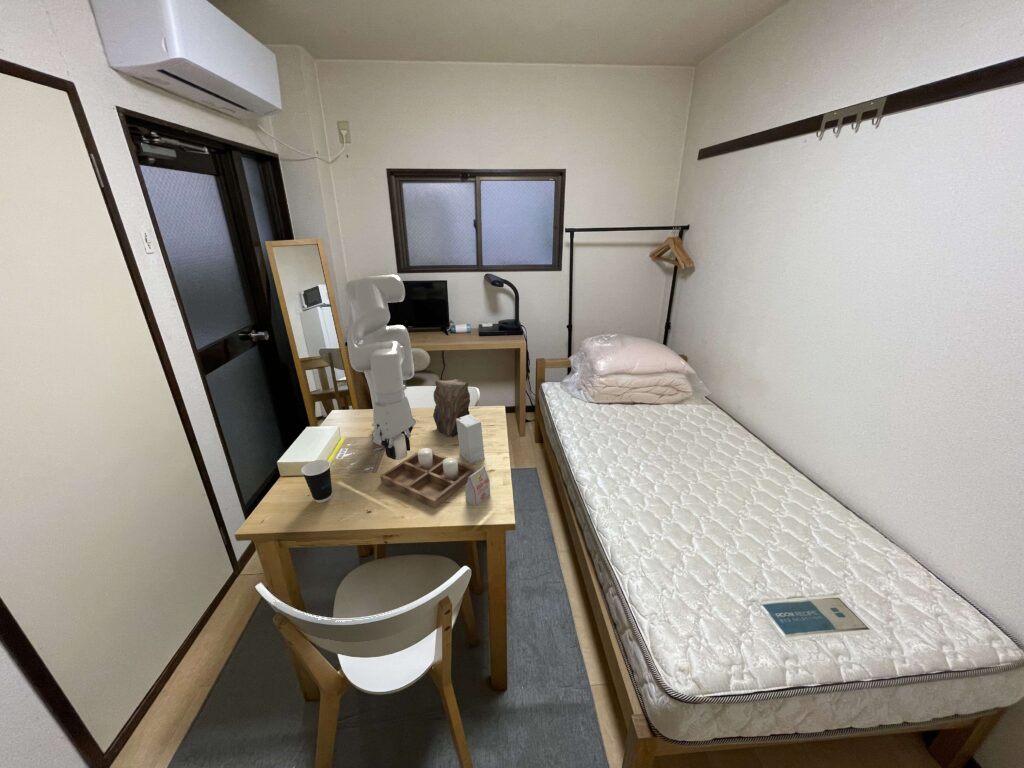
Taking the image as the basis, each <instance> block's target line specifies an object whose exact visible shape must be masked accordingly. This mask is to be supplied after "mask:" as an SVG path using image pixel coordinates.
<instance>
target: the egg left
mask: <svg viewBox="0 0 1024 768" xmlns="http://www.w3.org/2000/svg"><path fill="white" fill-rule="evenodd" d="M417 452H418V460H419V467H420V468H423V469H425V470H427V471H429V470H430V469H431V468H433V458H432V452H433V450H432V449H431V448H429V447H423V448H420V449H419V450H418V451H417Z"/></svg>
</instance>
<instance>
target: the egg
mask: <svg viewBox="0 0 1024 768" xmlns="http://www.w3.org/2000/svg"><path fill="white" fill-rule="evenodd" d="M392 446H394V448H395V454H396V459H394V460H393V461H399V460H403V459H405V458H406V457H407V456H408V451H407V448H406V441H405V435H404V434H402V433H399V434H397V435H395V436H393V443H392Z"/></svg>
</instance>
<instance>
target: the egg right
mask: <svg viewBox="0 0 1024 768" xmlns="http://www.w3.org/2000/svg"><path fill="white" fill-rule="evenodd" d="M457 461H458V459H457V458H456V457H453V456H452V457H447V458H446V459H444V460H443V471H444V478H447V479H449V480H452V481H456V480H457V479H458V478H459V474H458V462H459V461H458V462H457Z"/></svg>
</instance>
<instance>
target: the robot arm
mask: <svg viewBox="0 0 1024 768" xmlns="http://www.w3.org/2000/svg"><path fill="white" fill-rule="evenodd" d="M345 292H346V295H347V297H348V299H349V301H350V303H351V305H352V306H353V308H354V310H355V311H356V314H357V315H358V318H357V319H356V320H355V321H354V322H353V323H352V324H351V326H350V328H349V330H348V333H347V337H346V341H347V343H346V344H347V349H348V351H347V352H348V358H349V363H350V365H351V368H352V369H353V370H355V371H356V372H359V373H363V374H364V376H365V379H366V381H367V385H368V388H369V393H370V394H369V395H370V398H371V399H370V400H371V404H372V409H373V410H372V416H373V417H372V419H373V420H372V421H373V423H372V424H371V427H372V428H373V429H374V432H373V433H372V436H373V439H372V442H373V443H374V444H376V445H381V446H384V449H385V455H386V457H387V458H389V459H392V460H393V461H395V460H394V459H396V454H395V448H394V446H392V443H393V436H395V435H397V434H399V433H402V434H404V435H405V441H406V448H407V452H410V451H411V441H410V437H411V434H412V431H413V430H414V426H415V425H416V424H417V420H416V419H415V418H414V417H413V413H412V409H411V405H410V402H409V399H408V396H407V395H406V393H405V390H407V386H406V385H405V384H404V381H407V380H410V379H412V378H413V377H414V375H415V366H414V359H413V352H412V344H411V337H410V334H409V330H408V329H407V327H406V326H404V325H403V324H402V325H401V324H395V325H388V323H389V322H390V319H391V313H390V310H389V304H390V303H392V304H393V303H398V302H399V303H401V302H402V303H403V301H404V300H405V297H406V289H405V285H404V282H403V279H402V278H401V277H400V276H399V275H397V274H382V275H370V276H369V275H367V276H364V277H360V278H353V279H351V280H349V281H347V282H346V283H345ZM388 303H389V304H388ZM361 341H363V343H360V342H361Z"/></svg>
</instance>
